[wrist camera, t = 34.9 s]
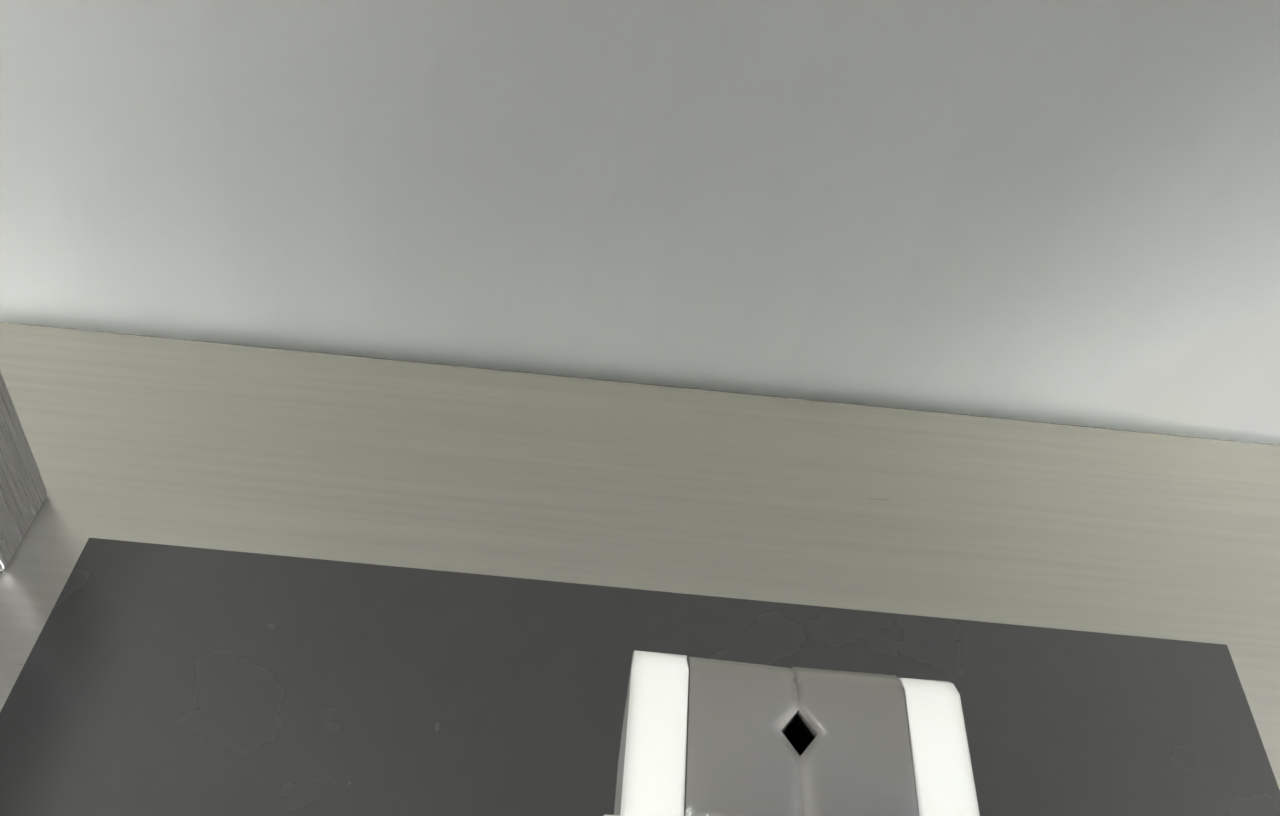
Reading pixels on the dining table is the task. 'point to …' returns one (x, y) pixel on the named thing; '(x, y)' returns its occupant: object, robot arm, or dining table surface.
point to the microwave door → (590, 583)
